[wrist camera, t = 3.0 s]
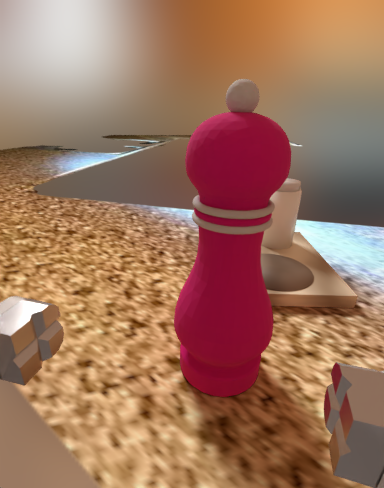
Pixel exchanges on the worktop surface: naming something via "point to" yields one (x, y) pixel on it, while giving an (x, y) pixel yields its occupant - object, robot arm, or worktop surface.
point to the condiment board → (303, 277)
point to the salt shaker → (283, 216)
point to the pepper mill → (230, 244)
